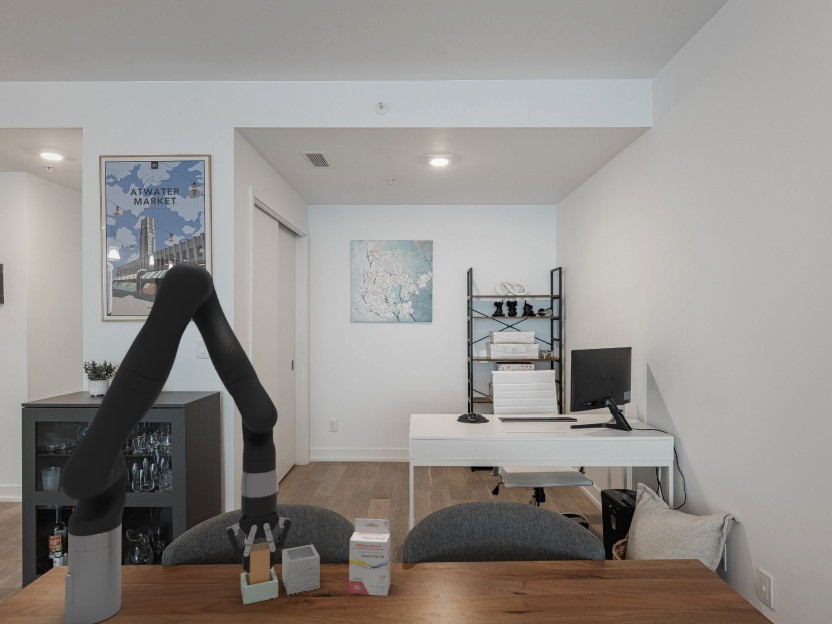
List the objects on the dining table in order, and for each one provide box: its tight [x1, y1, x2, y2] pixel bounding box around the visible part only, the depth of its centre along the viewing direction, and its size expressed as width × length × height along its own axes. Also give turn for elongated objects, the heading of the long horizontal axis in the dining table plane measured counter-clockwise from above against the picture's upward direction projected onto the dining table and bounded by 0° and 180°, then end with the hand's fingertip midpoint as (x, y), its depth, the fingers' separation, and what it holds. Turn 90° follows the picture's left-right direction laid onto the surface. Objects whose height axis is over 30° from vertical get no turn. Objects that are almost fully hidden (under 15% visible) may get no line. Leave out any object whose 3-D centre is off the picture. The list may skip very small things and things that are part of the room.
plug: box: [248, 541, 270, 585], centre depth 113 cm, size 4×4×8 cm
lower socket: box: [240, 566, 279, 605], centre depth 113 cm, size 7×7×3 cm
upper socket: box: [281, 543, 321, 596], centre depth 116 cm, size 7×7×7 cm
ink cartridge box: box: [348, 517, 391, 597], centre depth 114 cm, size 9×5×15 cm, turn 84°
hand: (259, 569), depth 113 cm, fingers closed on plug, 4 cm apart
